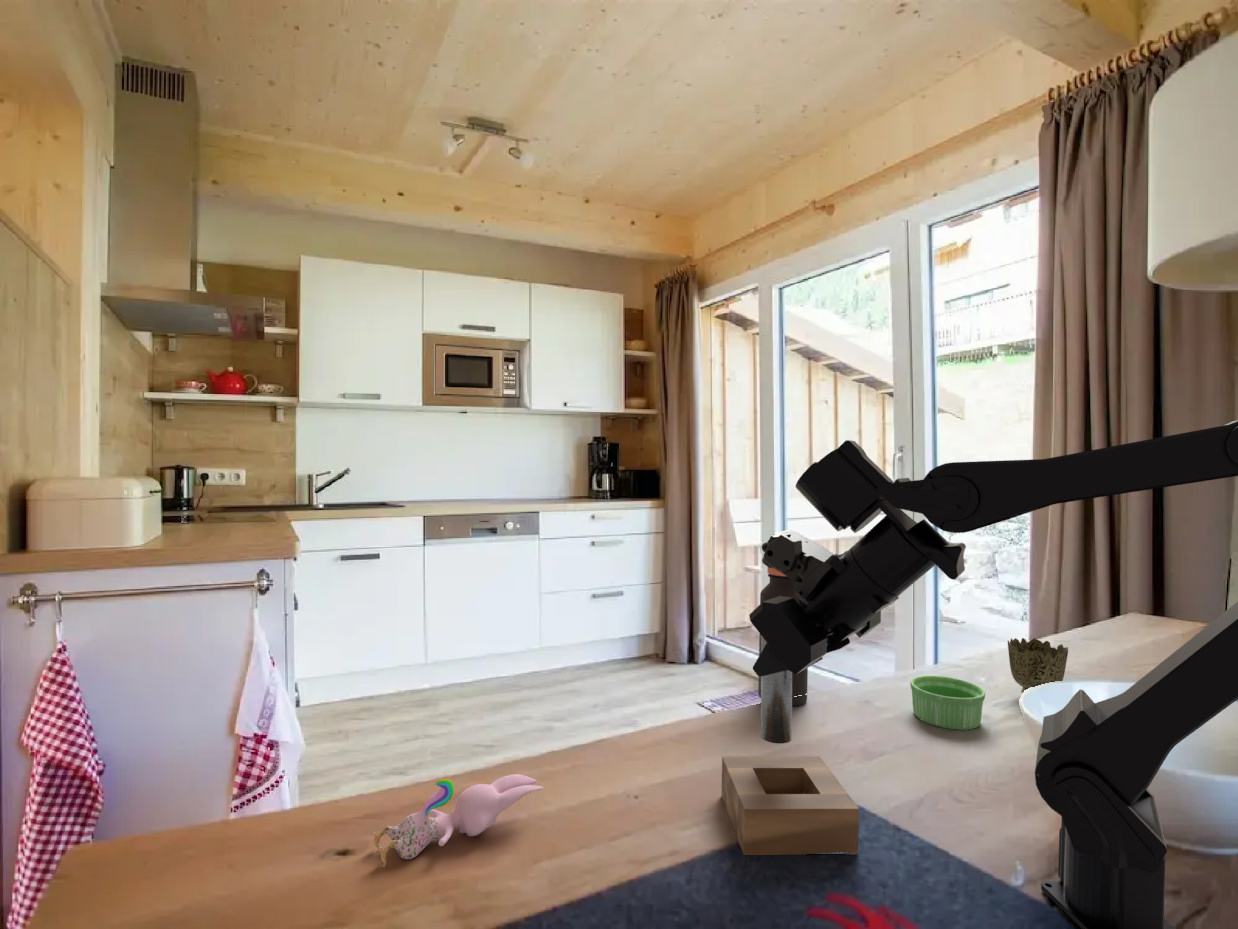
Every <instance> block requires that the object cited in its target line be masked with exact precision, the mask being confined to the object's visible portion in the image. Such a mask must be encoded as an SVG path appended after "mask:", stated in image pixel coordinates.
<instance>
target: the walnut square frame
mask: <svg viewBox="0 0 1238 929" xmlns="http://www.w3.org/2000/svg"><path fill="white" fill-rule="evenodd" d="M720 795H721V798H722V801H723V804H724V807H725V809H726V812H727V814H728V817H729V819H730V821H731V825H732V827H733V831H734V833H735V836H736V838H737V841H738V844H739V846H740V848H741V851H742V854H743V856H797V855H798V856H801V855H802V854H803V855H802V856H806V854H816V853H817V854H818V853H829V852H830V853H833V852H834V853H836V852H839V853H840V852H843V853H844V852H845V853H847V852H848V853H858V854H859V838H860V837H859V832H860V831H859V828H860V808H859V806H858V805H857V804H856V803H855V801H854V800H853V798H852V797H851V796H850V795H849V793H848V791H847V790H846V789H845V788H844V786H843V785H842V784H841V782H840V781H839V780H838V778H837V777H836V776H835V775H834V773H833V771H832V770H831V769H830V768H829V767H828V765H827V764H826V762H825V761H824V760H823V758H822V757H821V756H817V755H816V756H810V755H809V756H807V755H806V756H805V755H804V756H802V755H800V756H796V755H795V756H785V755H783V756H779V755H778V756H776V755H775V756H774V755H773V756H771V755H769V756H768V755H767V756H758V755H757V756H752V755H751V756H742V755H741V756H738V755H737V756H726V755H725V756H723V755H722V756H721V794H720Z"/></svg>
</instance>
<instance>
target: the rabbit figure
mask: <svg viewBox="0 0 1238 929" xmlns="http://www.w3.org/2000/svg"><path fill="white" fill-rule="evenodd" d="M537 783H538V781H537V780H536V779H535V778H532V777H530V776H526V775H523V774H518V773H517V774H515V773H514V774H507V775H505V776H502V777H498V778H497V779H496V780H494V781H492V782H491V783H490V784H486V783H478V784H474V785H472V786H469V787H468V788H466V789H465V790H463V791H462V793H460V794H459V795H458V797H457V798H456V801H455V805H454V811H453V812H451V813H449V814H447V813H445V812H442V811H439V810H437V808H440V807H443V806H445V805H446V804H448V802H449V801H450V800H451V799H452V797H453V795H454V791H455V787H454V783H453V781H452V780H451V779H449V778H442V779H439V780H438V781H436V783H434V785H433V786H438V787H440V788H439V790H437V791H436V792H435V793H433V794H432V795H431V796H430V797H429V798H428V800H426V802H425V804H424V805H423V807H421V809H420V810H419V811H417V812H415V813H411V814H409V815H408V816H406V817H405V818H404V819H403V820H402V821H401V822H400V823H399V824H397V825H395V826H390V825H385V827H384V828H383V829H382V831H381V832H380V833H379V834H377V833H376V832H375V831H373V832H372V834H374V837H373V841H374V847H376V848H377V850H376V852H379V850H381V851H380V852H379V854H380V861H382V863H383V865H382V867H383V868H385V867H386V865H387V860H386V857H387V853H388V851H389V850H391V849H392V848H394V849H395V850H396V852H397V854H398V856H399V858H401V859H403V860H411V859H414V858H416V857H417V856H418V855H419V854H420V853H421V852H423V850H424V849H425V848H426V847H428V845H429V844H430V843H431V842H432V841H438V845H439V847H443V846H444V845H445V844H447V842H448V841H449V839H450V838H451V836H452V834H453V832H454V828H455V827H458V831H459V833H461V834H466V835H467V836H468V837H475V836H478V835H480V834H482V832H484V831H485V830H487V829H488V828H490V827H491V826H492V825H493V824H495V822H496V820H497V818H498V816H499V815H500V814H501V813H502V812H503V811H505V810H507V809H508V808H510V807H511V806H513V805H514V804H515V803H517V802H518V801H520V800H521V799H522V798H523V797H525V796H527V795H528V794H531V793H533V792H539V791H543V789H544V787H543V786H542V785H533V784H537ZM430 816H431V817H430ZM384 835H388V836H389V837H390V839H391V842H390V843H389V845H387V846H386V847H385V848H383V847H382V846H380V841H381V838H382V837H383V836H384Z"/></svg>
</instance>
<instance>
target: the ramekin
mask: <svg viewBox="0 0 1238 929" xmlns="http://www.w3.org/2000/svg"><path fill="white" fill-rule="evenodd" d="M909 684H910V689H911V694H912V696H911V697H912V707H913V708H912V709H913V714H914V716H915V717H917V718H918V719H919V718H920V719H922V720H923V721H922V720H921V721H922V722H924V721H925V722H924V723H926V722H927V723H926V724H928V723H929V725H931V724H933V725H932V726H934V725H936V726H935V727H937V726H940V727H939V728H941V727H944V728H943V729H946V728H949V729H948V730H953V729H958V730H957V731H967V730H968V729H969V730H974V729H976V728H978V727H980V725H981V722H982V714H983V705H984V701H985V698H986V691H985V690H984V688H982V687H981V686H979V685H977V684H975V683H972V682H971V681H966V680H963V679H960V678H955V677H949V676H943V675H920V676H915V677H912V678H911V679H910V682H909ZM920 719H919V720H920ZM973 728H974V729H973ZM969 730H968V731H969Z"/></svg>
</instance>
